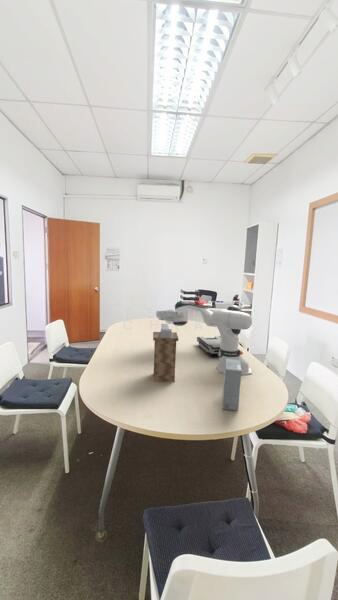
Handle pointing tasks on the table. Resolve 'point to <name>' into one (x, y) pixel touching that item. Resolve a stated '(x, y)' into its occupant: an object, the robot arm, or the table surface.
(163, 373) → the walnut stand
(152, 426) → the table surface
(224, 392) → the hard drive box
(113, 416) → the table surface
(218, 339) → the game console
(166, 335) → the link bar
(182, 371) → the table surface
